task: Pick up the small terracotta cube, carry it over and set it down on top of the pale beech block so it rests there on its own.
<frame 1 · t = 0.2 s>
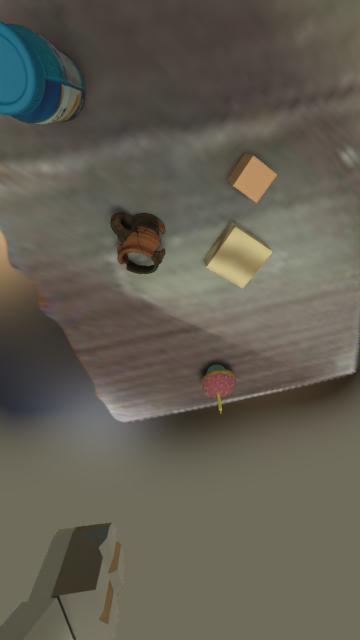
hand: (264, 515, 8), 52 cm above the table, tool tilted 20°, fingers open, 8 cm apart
vitamin bottle: (57, 87, 43), on the table
brown rounded piece: (138, 234, 56), on the table
beech block: (234, 251, 59), on the table
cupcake: (215, 370, 77), on the table
terracotta cube: (246, 175, 51), on the table
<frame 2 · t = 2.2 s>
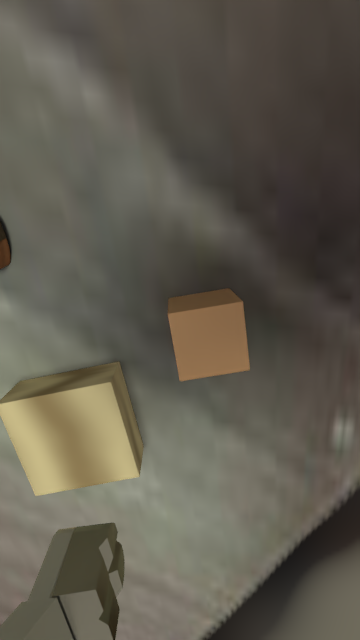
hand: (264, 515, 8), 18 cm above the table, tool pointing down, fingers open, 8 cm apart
beech block: (85, 413, 27), on the table
terracotta cube: (202, 321, 25), on the table
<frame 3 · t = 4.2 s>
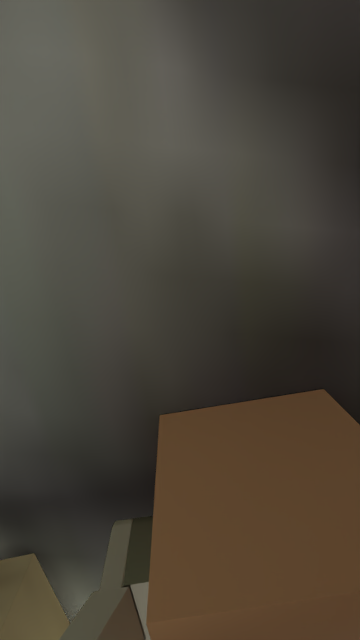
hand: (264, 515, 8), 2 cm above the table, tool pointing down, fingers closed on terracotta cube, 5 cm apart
terracotta cube: (249, 469, 10), on the table, touching gripper
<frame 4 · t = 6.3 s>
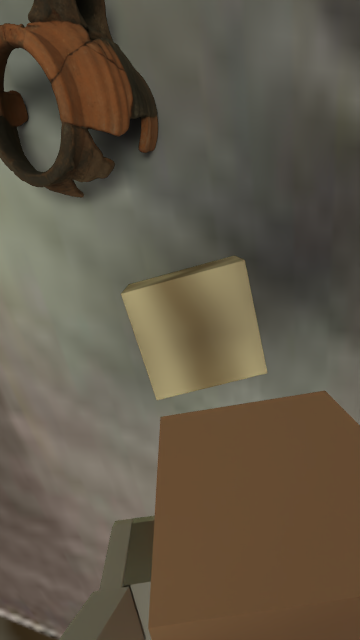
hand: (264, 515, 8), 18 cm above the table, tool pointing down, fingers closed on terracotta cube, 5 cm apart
brown rounded piece: (90, 111, 21), on the table
beech block: (194, 319, 26), on the table
terracotta cube: (250, 470, 10), point 17 cm above the table, touching gripper
when the fingers open (7 cm above the table, at t = 8.8 s): terracotta cube drops 1 cm, point 4 cm above the table.
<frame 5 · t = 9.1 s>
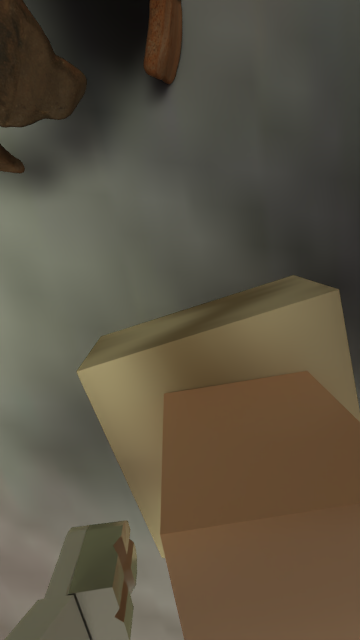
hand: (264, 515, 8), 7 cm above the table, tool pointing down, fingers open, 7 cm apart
brown rounded piece: (41, 1, 10), on the table
beech block: (221, 388, 15), on the table
terracotta cube: (242, 442, 11), point 4 cm above the table
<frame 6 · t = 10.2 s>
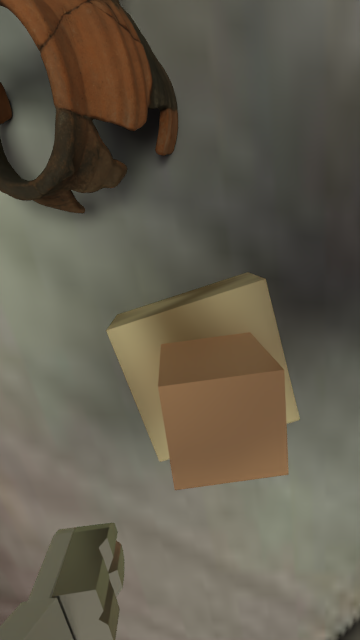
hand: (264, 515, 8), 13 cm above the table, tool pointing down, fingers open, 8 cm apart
brown rounded piece: (91, 105, 17), on the table
beech block: (201, 352, 21), on the table, touching terracotta cube
terracotta cube: (210, 378, 17), point 4 cm above the table, touching beech block
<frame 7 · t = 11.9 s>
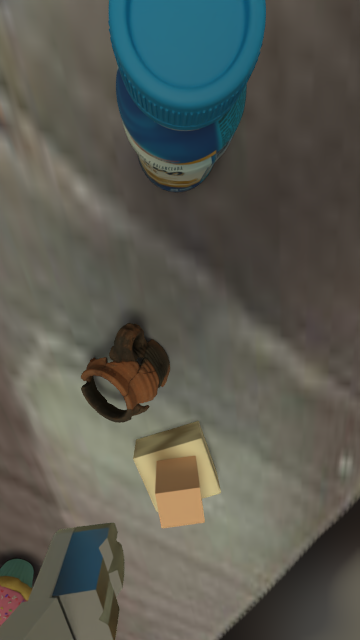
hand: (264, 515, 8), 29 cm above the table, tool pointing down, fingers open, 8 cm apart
vitamin bottle: (176, 152, 32), on the table
brown rounded piece: (131, 358, 38), on the table
beech block: (177, 454, 42), on the table, touching terracotta cube
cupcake: (19, 567, 46), on the table
terracotta cube: (178, 474, 38), point 4 cm above the table, touching beech block
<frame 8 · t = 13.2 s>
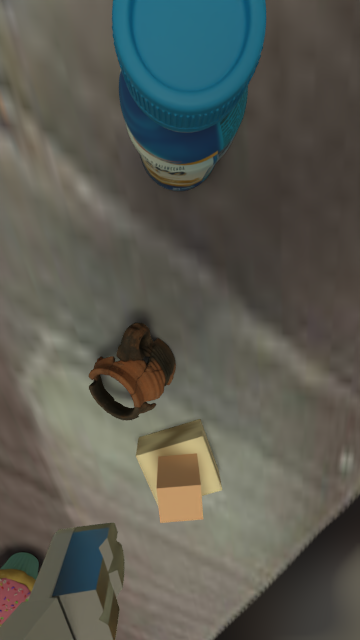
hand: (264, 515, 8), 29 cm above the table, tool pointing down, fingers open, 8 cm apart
vitamin bottle: (178, 151, 32), on the table
brown rounded piece: (137, 357, 38), on the table
beech block: (179, 452, 43), on the table, touching terracotta cube
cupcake: (24, 560, 47), on the table
terracotta cube: (179, 470, 39), point 4 cm above the table, touching beech block
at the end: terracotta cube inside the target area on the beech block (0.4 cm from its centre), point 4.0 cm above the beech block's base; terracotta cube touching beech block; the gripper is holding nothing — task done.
